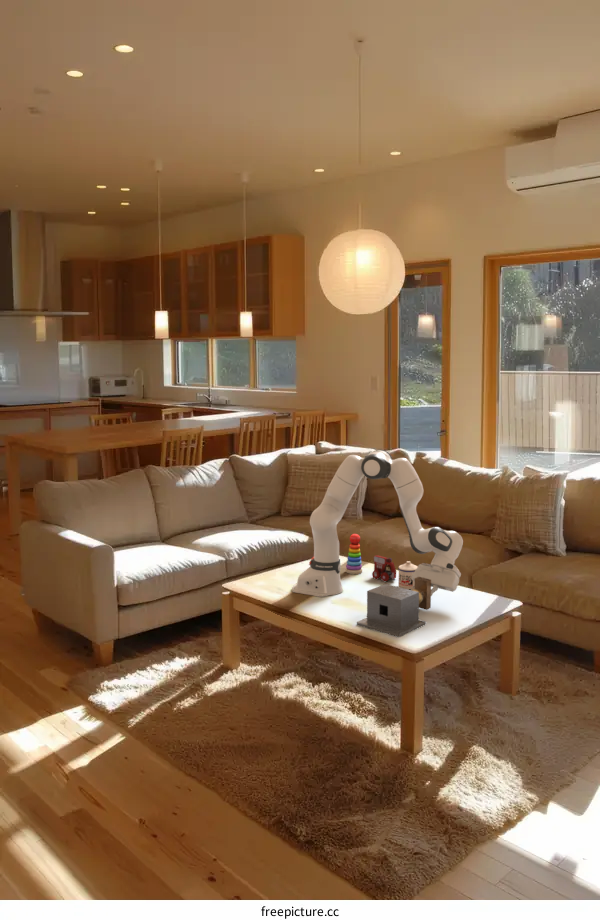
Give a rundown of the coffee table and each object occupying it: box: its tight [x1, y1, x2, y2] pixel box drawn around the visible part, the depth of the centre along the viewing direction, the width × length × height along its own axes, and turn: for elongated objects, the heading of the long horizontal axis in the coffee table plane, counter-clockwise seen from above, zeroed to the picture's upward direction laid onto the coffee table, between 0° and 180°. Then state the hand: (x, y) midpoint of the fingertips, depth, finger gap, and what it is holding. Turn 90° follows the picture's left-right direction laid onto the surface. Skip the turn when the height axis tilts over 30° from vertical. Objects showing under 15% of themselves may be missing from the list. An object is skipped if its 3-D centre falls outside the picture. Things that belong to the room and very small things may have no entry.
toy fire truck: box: [371, 554, 397, 582], centre depth 375 cm, size 7×12×10 cm, turn 45°
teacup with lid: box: [397, 560, 418, 590], centre depth 363 cm, size 12×9×12 cm
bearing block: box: [356, 583, 427, 638], centre depth 316 cm, size 18×20×13 cm
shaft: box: [411, 577, 432, 611], centre depth 325 cm, size 21×6×12 cm, turn 137°
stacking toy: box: [345, 533, 363, 575], centre depth 385 cm, size 8×8×19 cm
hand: (427, 594), depth 335 cm, fingers closed
